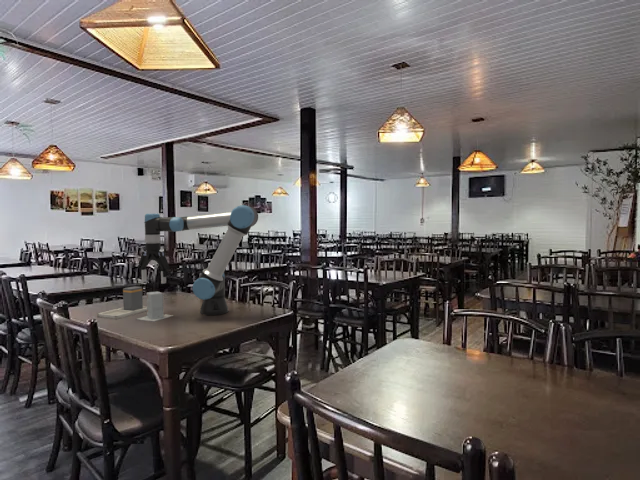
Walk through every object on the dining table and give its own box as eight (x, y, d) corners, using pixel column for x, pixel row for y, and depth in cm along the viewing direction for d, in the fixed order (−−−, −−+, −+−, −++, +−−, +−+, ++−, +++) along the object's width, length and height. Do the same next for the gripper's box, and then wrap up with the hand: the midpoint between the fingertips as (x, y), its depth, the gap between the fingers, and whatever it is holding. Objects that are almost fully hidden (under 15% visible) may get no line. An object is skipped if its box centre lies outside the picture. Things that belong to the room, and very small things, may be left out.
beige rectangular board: (151, 310, 242) (150, 307, 242) (116, 319, 220) (116, 316, 220) (132, 308, 247) (132, 305, 247) (97, 316, 225) (97, 313, 225)
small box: (163, 317, 223) (163, 293, 222) (151, 319, 218) (151, 294, 218) (158, 314, 229) (158, 291, 228) (146, 316, 225) (146, 292, 224)
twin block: (142, 309, 241) (142, 287, 241) (131, 312, 234) (131, 289, 233) (134, 308, 244) (134, 286, 243) (123, 311, 236) (122, 288, 236)
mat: (173, 315, 228) (173, 315, 228) (153, 321, 215) (153, 321, 215) (156, 313, 232) (156, 313, 232) (136, 319, 220) (136, 318, 220)
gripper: (176, 242, 221) (177, 282, 222) (140, 241, 231) (141, 280, 232) (165, 243, 214) (166, 284, 215) (129, 242, 224) (130, 282, 225)
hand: (153, 282), depth 223 cm, fingers open, 13 cm apart
